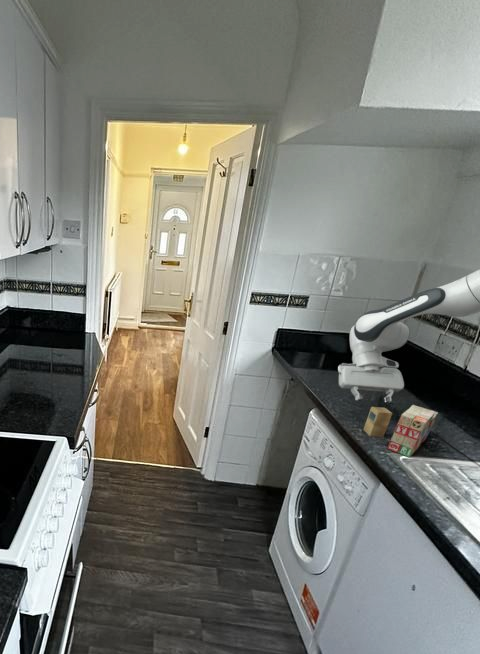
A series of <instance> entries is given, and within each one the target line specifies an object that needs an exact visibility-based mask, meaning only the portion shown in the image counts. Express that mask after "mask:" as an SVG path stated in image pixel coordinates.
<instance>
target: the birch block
mask: <svg viewBox="0 0 480 654" xmlns="http://www.w3.org/2000/svg"><path fill="white" fill-rule="evenodd" d="M392 415H393V412H391V411H390V410H388V408H386V407H382V406H381V407H380V406H371V407H370V409H369V412H368V415H367V418H366V420H365V423H364V427H363V429H362V430H363V431H364V432H365V433H366V434H367V435H368V436H369V437H375V438H384V436H385V434H386V431H387V428H388V426H389V423H390V421H391V418H392Z"/></svg>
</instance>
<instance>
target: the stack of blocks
mask: <svg viewBox="0 0 480 654" xmlns="http://www.w3.org/2000/svg"><path fill="white" fill-rule="evenodd" d="M438 414H439V412H438V411H434V410H432V409H428V408H426V407H425V408H424V407H422V406H417V405H415V404H412V405H411V406H410V407H409V408H408V409H406V410H405V411H404V412H403V413H401V415H400V417H399V420H398V422H397V424H396V426H395V429H394V430H393V434H392V436H391V438H390V439H389V443H388V445H387V447H386V449H387V450H389V451H392V452H394V453H397V454H399V455H402V456H405V457H408V458H410V457H412V455H413V454H414V453H415V452H416V451H417V450H418V449H419V447H420V446H421V445H422V444H423V443H424V442H425V440H426V439H427V438H428V437H429V434H430V432H431V430H432V428H433V426H434V424H435V422H436V421H435V420H436V418H437V417H438Z"/></svg>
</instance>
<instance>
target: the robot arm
mask: <svg viewBox="0 0 480 654" xmlns="http://www.w3.org/2000/svg"><path fill="white" fill-rule="evenodd" d="M478 313H480V269H477V270H475V271H473V272H471V273H469V274H467V275H465V276H463V277H462V278H459V279H456V280H454V281H452V282H449V283H447V284H444V285H441V286H437V287H433V288H429V289H426V290H423V291H420V292H418V293H415V294H413V295H411V296H409V297H406V298H404V299H402V300H399V301H397V302H393V303H392V304H390V305H387V306H384V307H382V308H378V309H373V310H369V311H366V312H364V313H363V314H361V315H360V316H359V317H358V318H357V319H356V321H355V322H354V325H353V326H351V328H350V331H349V349H350V351H351V353H352V356H351V361H352V363H346V362H342V363H340V364H339V365H338V366H337V371H338V386H339V387H340V388H341V389H347V390H350V392H351V394H352V395H353V396H354V398H355V401H358V402H361V401H362V400H363V399H364V397H363V394H361V393H360V392H359V391H372V392H385V395H386V396H385V397H383V403H385V404H390V403H392V396H393V394H394V393H398V392H400V391H402V390H403V389H404V388H405V381H404V378H403V375H402V372H401V371H400V369H398V368H400V367H399V366H400V364H399V362H397V361H395V360H392V359H389V358H387V357H385V356H382V353H386V352H391V351H394V350H397V349H400V348H402V347H403V346H404V345H406V343H407V342H408V340H409V338H410V334H411V331H410V327H409V326H408V325H406V323H403V322H404V321H408V320H409V319H411V318H414V317H418V316H422V315H441V316H449V317H458V318H462V317H468V316H471V315H472V316H473V315H475V314H478ZM358 390H359V391H358Z"/></svg>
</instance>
